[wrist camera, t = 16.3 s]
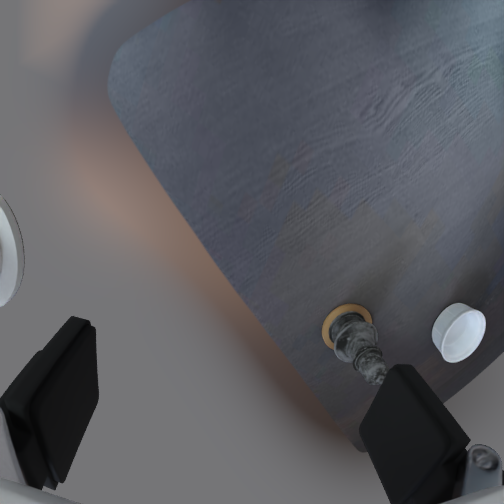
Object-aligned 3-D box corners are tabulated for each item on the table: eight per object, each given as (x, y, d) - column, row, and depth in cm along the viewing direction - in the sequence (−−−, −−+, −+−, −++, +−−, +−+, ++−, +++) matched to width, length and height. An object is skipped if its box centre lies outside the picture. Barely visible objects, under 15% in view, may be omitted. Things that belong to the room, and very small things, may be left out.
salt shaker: (372, 335, 41) (411, 387, 30) (334, 354, 42) (363, 413, 30) (361, 301, 40) (403, 350, 28) (320, 321, 40) (350, 378, 28)
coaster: (315, 346, 42) (316, 349, 41) (330, 299, 40) (331, 301, 39) (360, 350, 43) (361, 353, 42) (377, 306, 41) (379, 308, 40)
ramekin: (427, 356, 44) (440, 371, 40) (428, 310, 42) (443, 323, 38) (468, 337, 44) (482, 349, 40) (471, 291, 42) (488, 302, 38)
